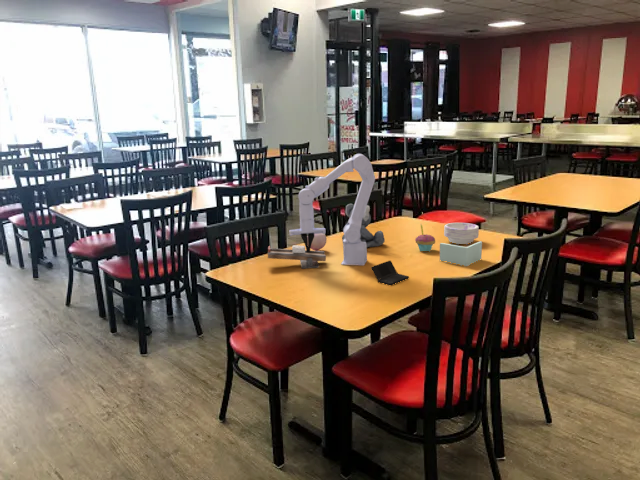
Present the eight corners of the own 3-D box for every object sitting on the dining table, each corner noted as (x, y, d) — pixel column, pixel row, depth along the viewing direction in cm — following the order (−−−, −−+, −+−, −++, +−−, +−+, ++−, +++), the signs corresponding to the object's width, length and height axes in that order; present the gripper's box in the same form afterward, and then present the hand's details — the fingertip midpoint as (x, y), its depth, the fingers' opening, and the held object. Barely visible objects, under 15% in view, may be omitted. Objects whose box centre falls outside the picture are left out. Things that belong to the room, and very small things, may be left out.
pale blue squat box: (481, 259, 209) (482, 241, 207) (466, 266, 200) (467, 248, 199) (454, 254, 217) (455, 237, 215) (439, 261, 209) (439, 243, 207)
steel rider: (304, 252, 212) (304, 245, 211) (304, 255, 208) (305, 248, 207) (292, 252, 211) (292, 245, 211) (292, 255, 207) (292, 247, 207)
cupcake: (413, 252, 222) (413, 225, 220) (417, 247, 230) (417, 221, 227) (433, 253, 219) (433, 226, 216) (436, 248, 227) (437, 222, 224)
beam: (323, 256, 215) (324, 248, 214) (325, 261, 208) (326, 253, 207) (267, 253, 212) (268, 245, 211) (267, 258, 205) (268, 249, 204)
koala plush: (387, 245, 236) (387, 203, 231) (356, 252, 226) (355, 208, 221) (363, 238, 250) (362, 198, 245) (333, 245, 240) (332, 203, 235)
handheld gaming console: (395, 282, 181) (382, 258, 183) (381, 291, 185) (368, 267, 187) (411, 278, 190) (398, 254, 192) (397, 287, 194) (384, 264, 196)
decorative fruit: (315, 255, 224) (314, 232, 222) (303, 251, 230) (302, 230, 228) (331, 250, 230) (330, 229, 228) (319, 247, 236) (318, 226, 234)
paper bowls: (482, 240, 238) (482, 223, 236) (472, 248, 226) (473, 230, 224) (450, 237, 246) (450, 220, 244) (439, 244, 234) (439, 227, 232)
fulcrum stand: (316, 260, 216) (316, 251, 215) (319, 267, 206) (318, 258, 205) (300, 261, 216) (299, 252, 215) (301, 268, 206) (301, 259, 205)
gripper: (323, 215, 211) (324, 247, 214) (288, 217, 210) (290, 249, 213) (325, 219, 204) (326, 252, 207) (288, 221, 203) (290, 254, 206)
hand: (308, 251), depth 210 cm, fingers closed
